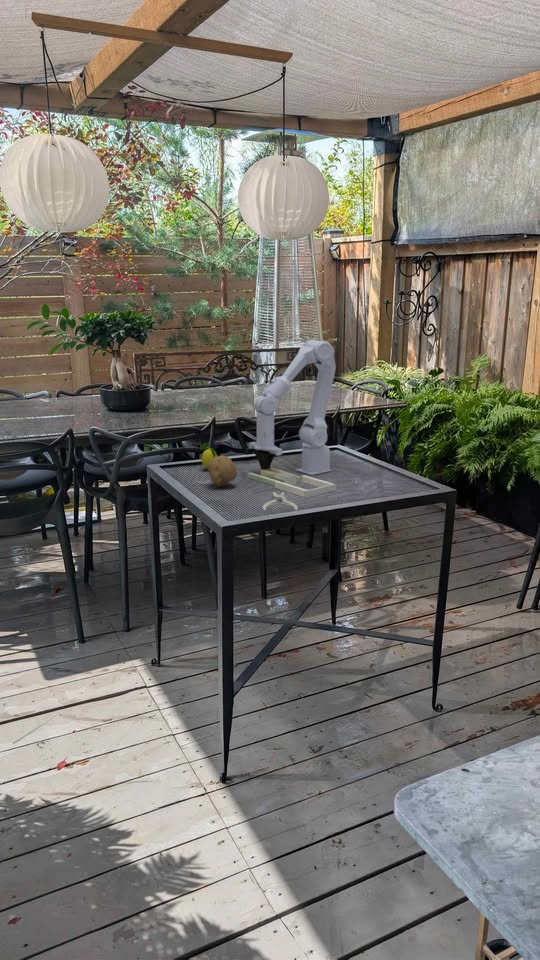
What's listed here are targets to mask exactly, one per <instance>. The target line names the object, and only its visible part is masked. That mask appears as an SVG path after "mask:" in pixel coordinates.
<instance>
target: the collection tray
mask: <svg viewBox="0 0 540 960" xmlns="http://www.w3.org/2000/svg"><path fill="white" fill-rule="evenodd" d="M300 482H301V483H305V484H307V485H311V486H314V488H310V489H306V488H302V487H299V486H296V485H289V484H286V483H283V482H280V481H275V486H274V488H275V489H278V490H281V491H282V492H284V491H285V492H288V493H290V494H293V495H296V496H300V497H303V498H305V499H306V498H307V499H308V498H311V497H315V496H319V495H324V494H328V493H331V492H335V491H337V484H336V483H334V482H333V483H332V482H329V481H326V480H322V479H319V478H315V477H311V476H309V475H301V476H300Z"/></svg>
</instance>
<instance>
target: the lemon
mask: <svg viewBox="0 0 540 960" xmlns="http://www.w3.org/2000/svg"><path fill="white" fill-rule="evenodd" d="M210 444H211V443H210V441H209V442H208V444H207V443H205V442H204V443H202V445H200V448H199V449H200V450H204V451H203V453H202V454H201V465H202V466H203V467H204V468H206V469H207V470H208V464H209V462H210V461H211V460H212V459H213V458H214V457H217V456H218V455H217V453H216V450H214V448H212V447H211V445H210Z"/></svg>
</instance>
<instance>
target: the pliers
mask: <svg viewBox="0 0 540 960" xmlns="http://www.w3.org/2000/svg"><path fill="white" fill-rule="evenodd" d="M272 498H273V499H272V500H270V501H267V502H266V503H264V504H263V505H262V511H264V512H266V509H267V508H268V507H272V506H273V507H274V506H276V505H278V502H280V503H281V505H284V506H287V507H288V506H289V507H292V508H293V509H294V511H296V512H297V511H298V509H299V508H298V505H297V504H295V503H294V502H292V501H289V500H287V498H286V496H285V492H284V491H282V492H281V493H280V494H278V493H276V492H275V491H272Z"/></svg>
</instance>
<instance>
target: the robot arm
mask: <svg viewBox="0 0 540 960" xmlns="http://www.w3.org/2000/svg"><path fill="white" fill-rule="evenodd" d="M334 355H335V349H334V348H333V346H332V344H331V343H330V342H328V341H327V340H316V339H311V338H310V339H308V340H306V341H305V342H304V344H303V345H302V346H301V347H300V348H299V350H298V352H297V354H296V356H294V358H293V360H292V361H291V363H290V364H289V365H288V367H287V368H286V370H285V371H284V372H283V374H282V375H281V376H276V377H275V378H272V379H271V380H270V382H271V383H270V384H269V386H268V387H267V388H266V390H263V391H262V393H261V394H262V395H259V396H257V397H256V398H255V401H254V403H253V408H254V410H255V411H256V441H251V442H249V449H254V450H257V451H255V452H254V455H255V457H256V459H257V460H258V464H259V467H260V471H261V470H264V469H269V468H271V465H272V462H273V461H274V458H275V457H276V456H282V455H283V448H280V447H278V446H277V445H275V413H276V412H277V411H278V406H279V403H280V401H282V399H283V397H285V395H286V394H287V393H288V392H289V390H290V389H291V382H292V381H293V380H294V379H295V378H296V376H298V374H300V372H301V371H303V369H304V368H305V366H307V365H310V364H311V365H312V364H314V365H315V368H317V370H318V371H317V376H316V381H315V385H314V390H313V395H312V399H311V404H310V409H309V413H308V416H307V417H306V418H305V419H304V420H303V423H302V425H301V428H299V430H298V438H299V440H300V441H301V444H302V445H301V446H302V447H301V467H300V468H297V469H296V472H299V473H302V474H306V475H310V476H313V475H314V476H315V475H320V474H323V473H328V472H332V469H331V450H330V447H329V446H328V445H326V443H327V442H328V432H327V430H328V425H327V423H326V420H325V417H326V415H327V414H326V413H327V410H328V409H327V408H328V404H329V400H330V396H331V391H332V385H333V382H334V378H335V373H336V370H337V369H336V368H337V366H336V359H335V356H334Z"/></svg>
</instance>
